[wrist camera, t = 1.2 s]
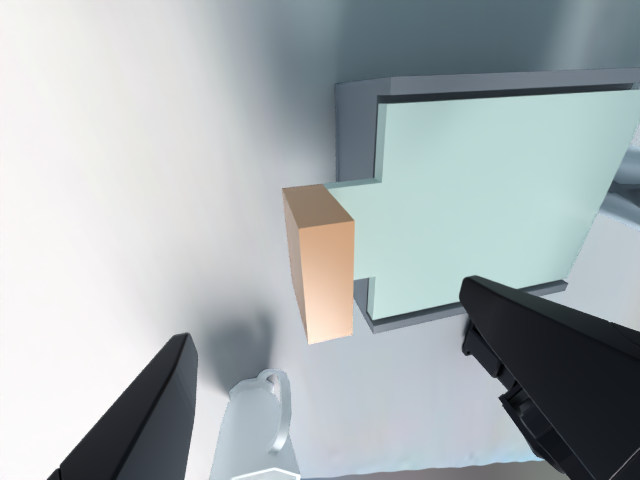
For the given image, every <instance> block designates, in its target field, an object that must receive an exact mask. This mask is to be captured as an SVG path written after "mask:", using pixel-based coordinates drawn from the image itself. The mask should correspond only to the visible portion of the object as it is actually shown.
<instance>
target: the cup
mask: <svg viewBox="0 0 640 480" xmlns="http://www.w3.org/2000/svg"><path fill="white" fill-rule="evenodd" d="M272 374H276V375H277V378H278V381H279V386H280V404H279V402H278V399H277V397H276V395H275V394H274V384H273V383H271V382H269V381H267V380H266V378H267V377H268V376H270V375H272ZM290 420H291V391H290V382H289V379H288V376H287V374H286V372H284V371H283V370H279V369H266V370H263V371H262V372H260V373H259V375H258V377H257V378H252V379H246V380H242V381H241V382H239V383H238V384H237V385H236V386H234V387H233V388H232V389H231V390H230V401H229V402H228V404H227V407H226V410H225V414H224V417H223V420H222V423H221V426H220V431H219V436H218V440H217V445H216V450H215V455H214V460H213V464H212V468H211V473H210V477H209V480H300V476H301V475H300V471H299V467H298V464H297V460H296V456H295V453H294V450H293V446H292V443H291V440H290V436H289V427H290Z"/></svg>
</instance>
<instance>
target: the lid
mask: <svg viewBox="0 0 640 480" xmlns="http://www.w3.org/2000/svg"><path fill="white" fill-rule="evenodd" d="M639 123H640V89H626V90H608V91H591V92H573V93H555V94H538V95H520V96H503V97H485V98H467V99H450V100H432V101H414V102H397V103H379V104H378V122H377V141H376V159H375V178H371V179H362V180H353V181H344V182H335V183H326V184H317V185H308V186H299V187H290V188H282V193H283V203H284V212H285V221H286V230H287V239H288V248H289V258H290V267H291V276H292V283H293V287H294V291H295V295H296V299H297V302H298V306H299V310H300V314H301V318H302V322H303V326H304V329H305V333H306V337H307V341H308V345H309V344H313V343H318V342H322V341H327V340H331V339H336V338H340V337H344V336H349V335H352V331H353V283H354V280H358V279H363V278H369V291H368V309H367V311H368V313H369V315H370V316H371V318H372V320H376V319H381V318H385V317H390V316H395V315H399V314H404V313H408V312H413V311H418V310H422V309H427V308H431V307H436V306H441V305H445V304H450V303H454V302H459V301H460V300H459V293H460V288H461V284H462V281H463V279H464V278H465V277H467V276H473V275H477V276H480V277H483V278H486V279H489V280H492V281H495V282H498V283H500V284H503V285H506V286H509V287H512V288H515V289H519V288H524V287H528V286H533V285H537V284H542V283H547V282H551V281H556V280H561V279H565V278H567V277H568V275H569V273H570V271H571V268H572V266H573V264H574V262H575V260H576V258H577V256H578V253H579V251H580V249H581V247H582V245H583V243H584V241H585V238H586V236H587V234H588V232H589V230H590V228H591V226H592V224H593V221H594V219H595V217H596V215H597V213H598V211H599V209H600V206H601V204H602V202H603V200H604V198H605V196H606V194H607V191H608V189H609V187H610V185H611V183H612V181H613V179H614V176H615V174H616V172H617V170H618V168H619V166H620V164H621V161H622V159H623V157H624V155H625V153H626V151H627V149H628V146H629V144H630V142H631V140H632V138H633V136H634V134H635V132H636V129H637V127H638V125H639Z"/></svg>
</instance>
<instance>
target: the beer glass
mask: <svg viewBox="0 0 640 480" xmlns="http://www.w3.org/2000/svg"><path fill="white" fill-rule="evenodd" d="M597 214H600V215H604V216H606V217H609V218H612V219H614V220H617V221H619V222H621V223H623V224H625V225H627V226H629V227H631V228H633V229H635V230H637V231H639V232H640V146H635V145H631V144H629V146H628V149H627V151H626V153H625V155H624V157H623V159H622V161H621V164H620V166H619V168H618V170H617V172H616V174H615V176H614V179H613V181H612V183H611V185H610V187H609V189H608V191H607V194H606V196H605V198H604V200H603V202H602V204H601V206H600V209H599V211H598V213H597Z"/></svg>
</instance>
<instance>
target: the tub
mask: <svg viewBox="0 0 640 480" xmlns="http://www.w3.org/2000/svg"><path fill="white" fill-rule="evenodd" d="M633 83H640V67H639V68H612V69H585V70H558V71H532V72H505V73H478V74H451V75H424V76H397V77H385V78H377V79H369V80H361V81H353V82H345V83H337V84H335V114H336V182H344V181H353V180H362V179H371V178H375V159H376V141H377V122H378V104H379V103H397V102H414V101H432V100H450V99H467V98H485V97H503V96H520V95H538V94H555V93H573V92H591V91H608V90H626V89H631V87H632V85H633ZM567 285H568V283H567V282H565V281H563V280H556V281H551V282H547V283H542V284H537V285H533V286H528V287H524V288H519V289H518V290H521V291H523V292H526V293H529V294H532V295H535V296H538V297H539V296H543V295H547V294H552V293H556V292H561V291H565V289H566V287H567ZM368 291H369V278H363V279H358V280H354V283H353V297H354V299H355V301H356V303H357V305H358V307H359V308H360V310H361V312H362V314H363V316H364V318H365V320H366V321H367V323H368V325H369V327H370V329H371V331H372V332H373V334H376V333H380V332H385V331H389V330H393V329H398V328H402V327H407V326H411V325H415V324H420V323H424V322H429V321H433V320H437V319H442V318H446V317H451V316H455V315H459V314H464V313H467V312H466V310H465V309H464V307H463V306H462V304H461V302H460V301H459V302H454V303H450V304H445V305H441V306H436V307H431V308H427V309H422V310H418V311H413V312H408V313H404V314H399V315H395V316H390V317H385V318H381V319H376V320H372V318H371V316H370V315H369V313H368V311H367V309H368Z"/></svg>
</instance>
